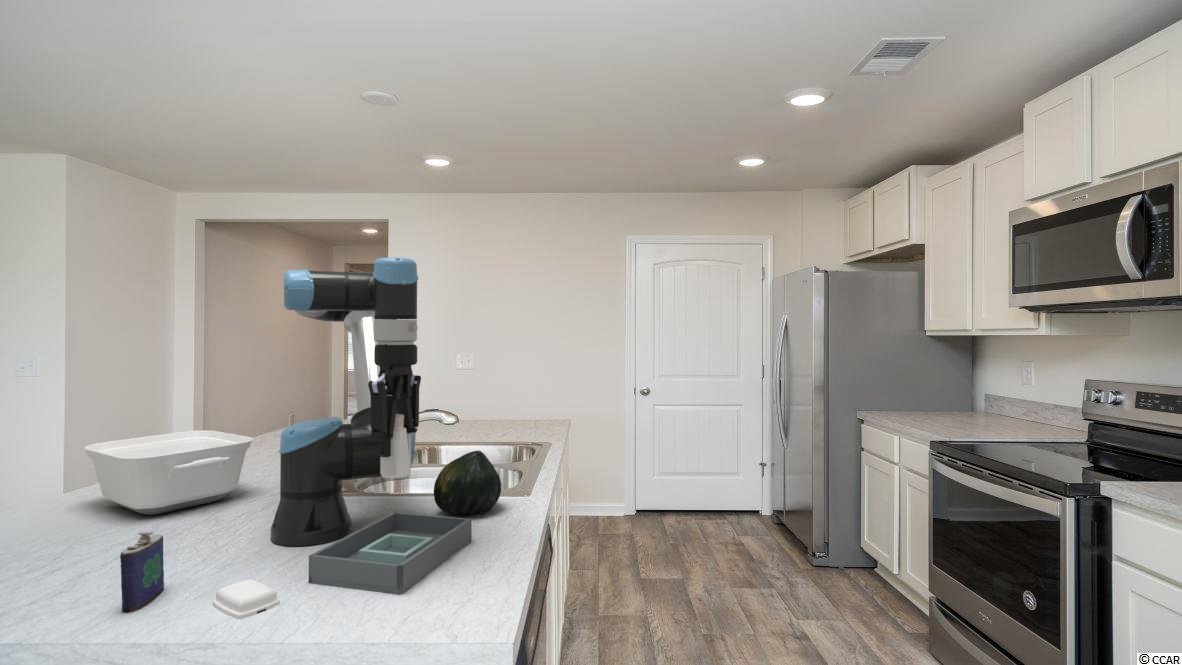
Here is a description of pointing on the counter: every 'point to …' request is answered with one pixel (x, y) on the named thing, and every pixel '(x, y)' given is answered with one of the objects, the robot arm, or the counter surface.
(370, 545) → the bin
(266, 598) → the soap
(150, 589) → the flask
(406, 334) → the robot arm
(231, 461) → the white plastic tub
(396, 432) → the salt shaker
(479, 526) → the counter surface
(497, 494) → the squash
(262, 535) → the counter surface
